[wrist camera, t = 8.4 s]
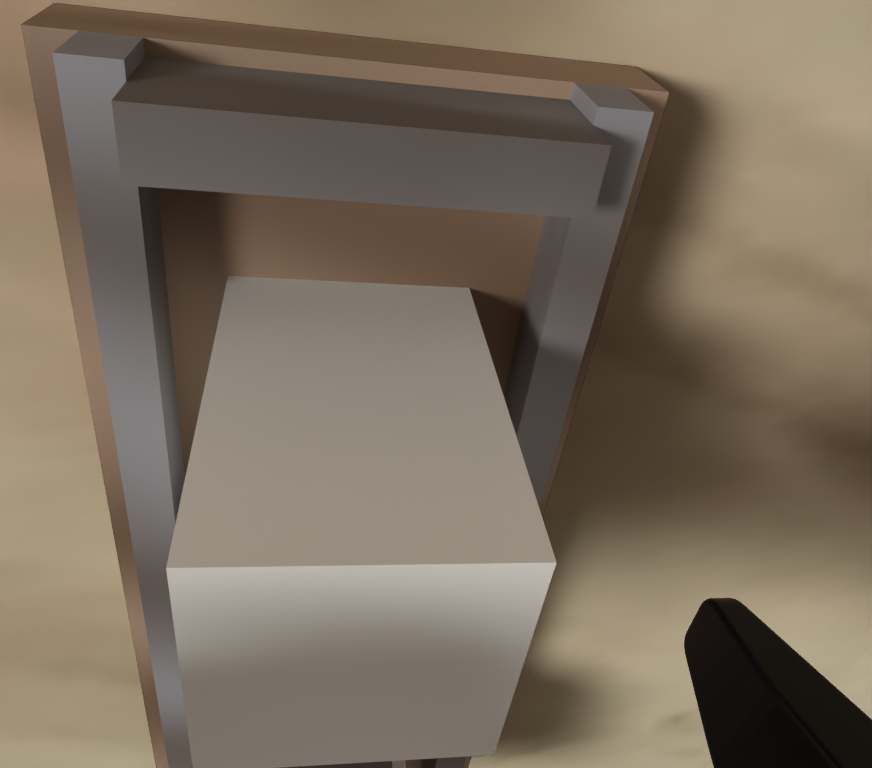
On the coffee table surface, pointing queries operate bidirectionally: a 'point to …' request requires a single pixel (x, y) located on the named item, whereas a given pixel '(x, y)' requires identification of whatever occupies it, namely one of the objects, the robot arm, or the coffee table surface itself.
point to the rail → (314, 231)
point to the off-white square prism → (352, 532)
